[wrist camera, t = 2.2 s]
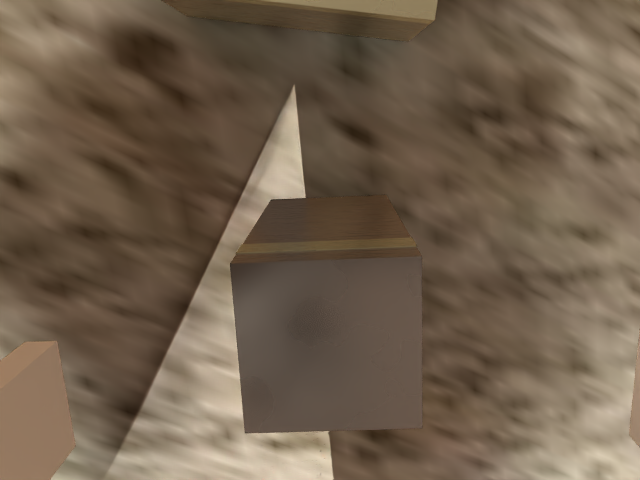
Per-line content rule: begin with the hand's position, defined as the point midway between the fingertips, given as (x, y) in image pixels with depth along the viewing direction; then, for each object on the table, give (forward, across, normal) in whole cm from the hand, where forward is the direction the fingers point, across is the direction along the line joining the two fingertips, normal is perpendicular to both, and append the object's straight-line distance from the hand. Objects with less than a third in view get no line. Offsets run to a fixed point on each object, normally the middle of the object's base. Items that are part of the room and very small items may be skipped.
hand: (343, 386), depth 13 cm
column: (+12, 0, 0) cm, 12 cm away
